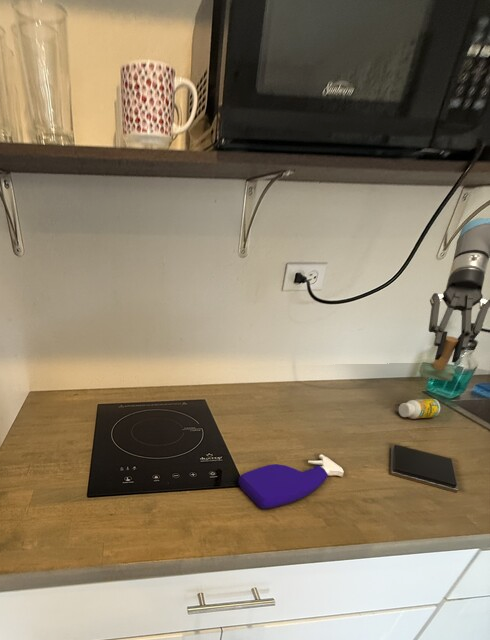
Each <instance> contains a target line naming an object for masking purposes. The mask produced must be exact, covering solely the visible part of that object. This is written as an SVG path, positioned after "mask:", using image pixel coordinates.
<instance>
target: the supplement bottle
mask: <svg viewBox="0 0 490 640" xmlns="http://www.w3.org/2000/svg"><path fill="white" fill-rule="evenodd" d="M440 412H441V405H440V402H439V401H438V400H437V399H435V398H421V399H419V398H418V399H410V400H408V401H407V402H403V403H401V404H399V406H398V414H399V415H400V417H402V418H409V419H412V420H414V419H415V420H416V419H428V418H435V417H437V416H438V415H439V414H440Z"/></svg>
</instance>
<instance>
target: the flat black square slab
mask: <svg viewBox="0 0 490 640" xmlns="http://www.w3.org/2000/svg"><path fill="white" fill-rule="evenodd" d="M389 455H390V456H389V457H390V459H389V460H390V461H389V462H390V463H389V464H390V465H389V475H390V476H392V477H393V476H394V477H396V478H400V479H404V480H407V481H411V482H416V483H419V484H422V485H427V486H430V487H433V488H437V489H441V490H443V491H449V492H451V493H455V494H456V493H458V491H459V486H458V481H457V477H456V472H455V468H454V463H453V459H452V458H451V457H446V456H443V455H439V454H435V453H431V452H426V451H422V450H418V449H414V448H410V447H406V446H403V445H402V446H401V445H398V444H394V445H391V447H390V454H389Z"/></svg>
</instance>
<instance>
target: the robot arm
mask: <svg viewBox="0 0 490 640" xmlns="http://www.w3.org/2000/svg"><path fill="white" fill-rule="evenodd" d="M489 260H490V218H489V217H488V218H485V217H478V218H474V219H471V220H470V221H468V222H466V223H465V224H464V225H463V227H462V228H461V229H460V233H459V235H458V238H457V240H456V245H455V250H454V255H453V259H452V263H451V267H450V271H449V274H448V279H447V283H446V286H445V290H444V291H443V293H437V292H433V294H432V295H431V297H430V298H429V304H430V306H431V309H430V316H429V324H428V332H429V333H434V341H433V347H437V349H436V353H435V356H434V360H439V358H440V357H441V356H442V353H443V349H444V345H445V341H446V337H447V336H448V334H449V333H448V331H445V330H446V327H447V325H448V323H449V321H450V319H451V317H452V314H453V312H454V311H460V315H461V325H460V326H461V328H460V330H461V332H460V335H459V336H458V337H457V339H458V340H459V341H458V343H457V345H456V347H455V349H454V351H453V354H452V359H451V363H454V364H455V363H457V361H459V360H460V358H461V354H462V351H464V350H465V349H467V347H468V345H469V339H476V337H477V336H478V335H479V334H480V333H481V330H482V329H483V328H482V327H483V325H484V321H485V319H486V316H487V314H488V310H489V308H490V299H486V298H484V296H483V294H482V290H483V287H484V282H485V276H486V272H487V268H488V263H489ZM442 301H443V302H444V304H445V306H446V309H445V312H444V314H443V316H442V319H441V320H440V323H438V321H439V314H440V306H441V302H442ZM477 304H478V305H479V306H478V309H479V311H478V313H477V314H476V318H475V320H474V323H473V326H472V311H473V307H475V306H476V305H477ZM438 324H439V325H438Z"/></svg>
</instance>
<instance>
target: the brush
mask: <svg viewBox="0 0 490 640" xmlns="http://www.w3.org/2000/svg"><path fill="white" fill-rule="evenodd" d="M458 341H459V340H458V337H454V336H450V335H447V337H446V341H445V345H444V349H443V353H442V356H441V357H440V358H439V360H435V359H434V360H433V362H427V361H426V362H424V361H422V362H421V363H420V366H419V369H418V372H419V376H420V378H424V379H431V380H440V381H447V382H452V381H453V379H454V376H455V374H456V371H455V368H454V367H453V365H449V362H450V360H451V358H452V356H453V354H454V350H455V347H456V345H457V343H458Z"/></svg>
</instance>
